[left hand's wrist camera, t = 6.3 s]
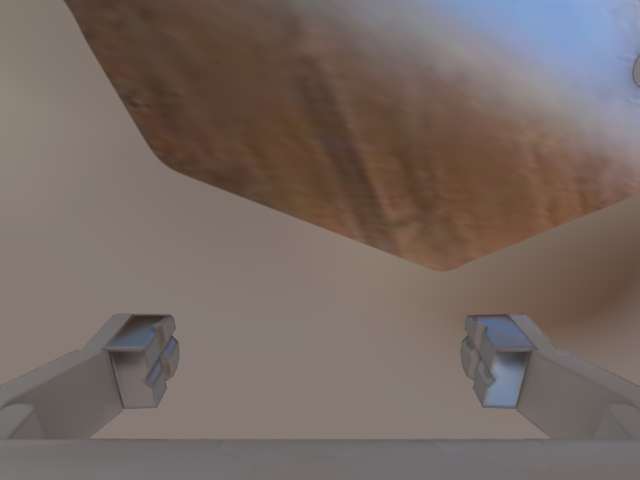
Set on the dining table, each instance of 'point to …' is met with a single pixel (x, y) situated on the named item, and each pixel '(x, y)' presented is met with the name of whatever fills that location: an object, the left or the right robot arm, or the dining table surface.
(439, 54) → the dining table surface
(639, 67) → the bottle
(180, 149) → the dining table surface
